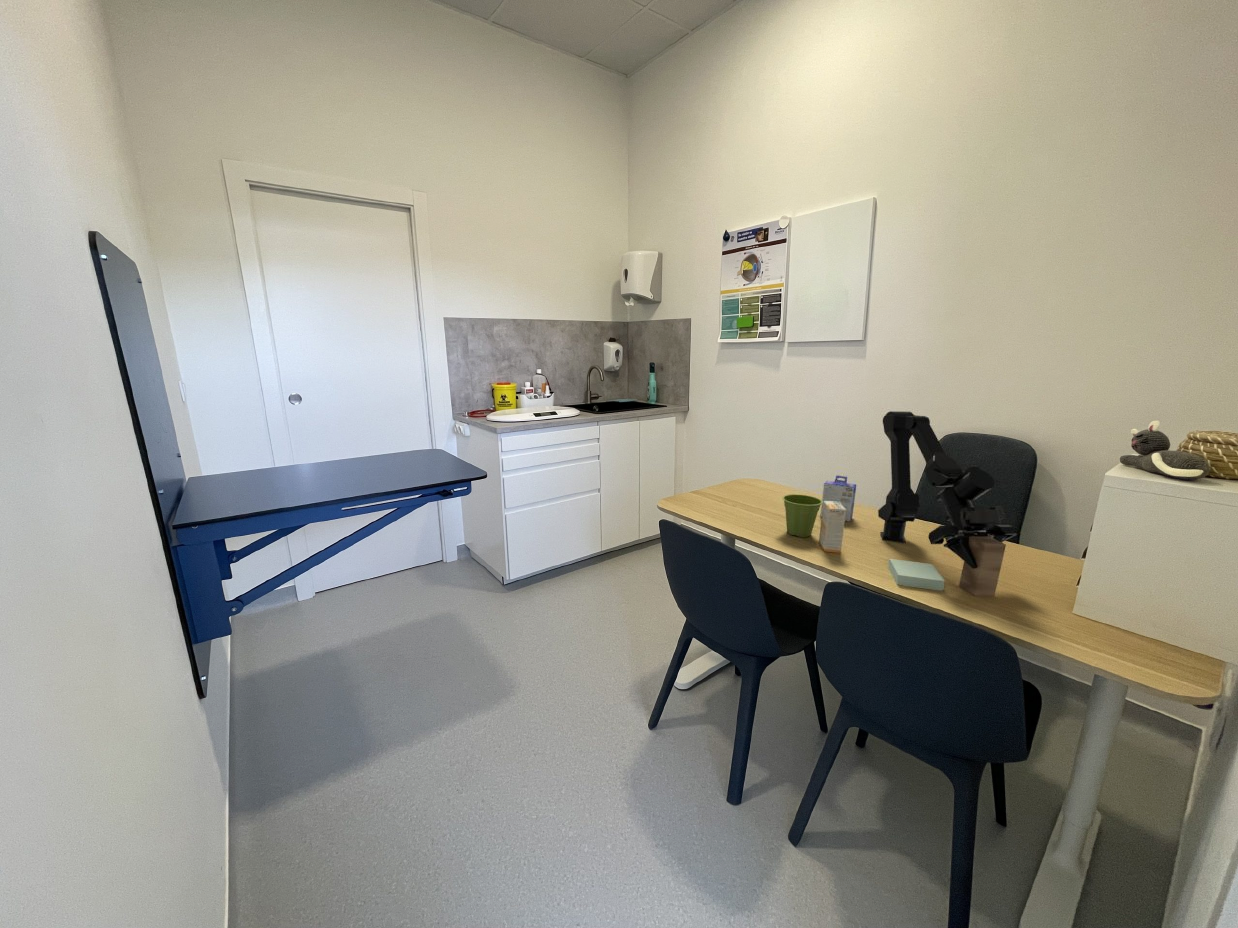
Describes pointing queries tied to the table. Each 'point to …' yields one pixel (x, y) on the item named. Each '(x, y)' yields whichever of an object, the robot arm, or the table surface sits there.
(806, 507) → the plant pot
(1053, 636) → the table surface
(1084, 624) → the table surface
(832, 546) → the supplement box
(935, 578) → the sage green base block
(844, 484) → the ink cartridge box
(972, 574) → the walnut block
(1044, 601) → the table surface
